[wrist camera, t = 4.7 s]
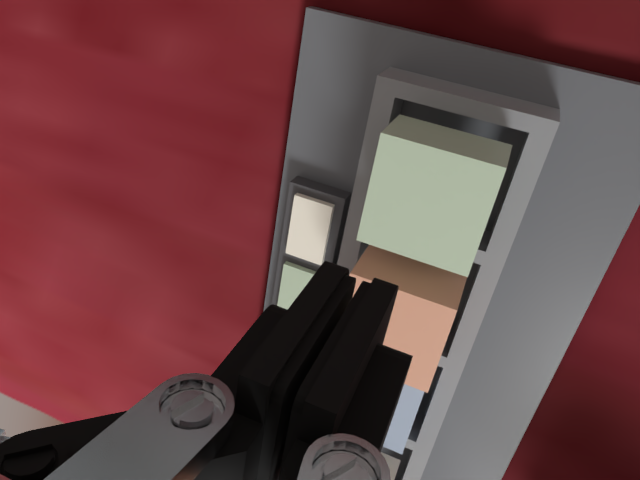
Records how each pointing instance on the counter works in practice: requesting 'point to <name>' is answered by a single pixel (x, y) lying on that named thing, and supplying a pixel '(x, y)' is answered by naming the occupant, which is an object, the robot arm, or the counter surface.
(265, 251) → the counter surface
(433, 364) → the terracotta key
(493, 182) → the sage key
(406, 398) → the slate key
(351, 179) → the keypad board
